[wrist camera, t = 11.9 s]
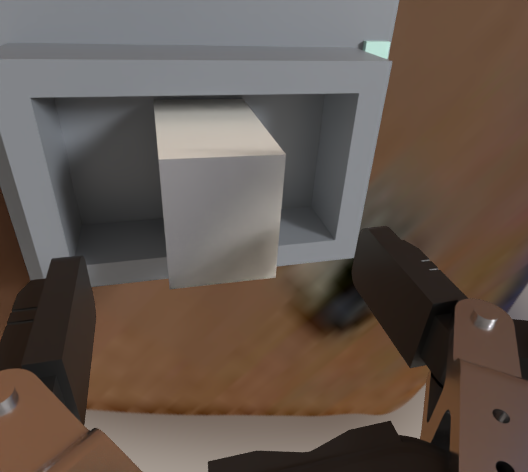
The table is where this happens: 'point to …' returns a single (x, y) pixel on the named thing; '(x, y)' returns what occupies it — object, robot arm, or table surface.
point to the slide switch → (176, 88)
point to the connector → (218, 191)
